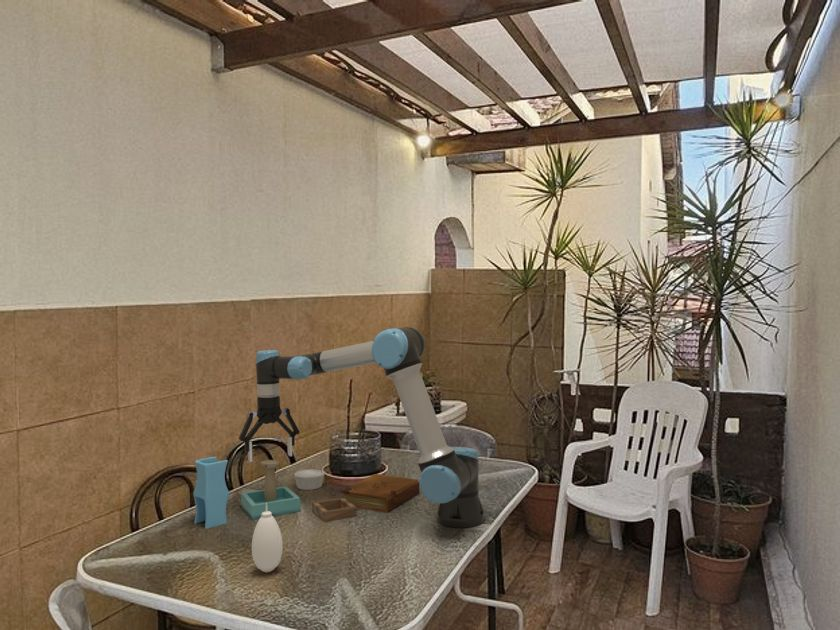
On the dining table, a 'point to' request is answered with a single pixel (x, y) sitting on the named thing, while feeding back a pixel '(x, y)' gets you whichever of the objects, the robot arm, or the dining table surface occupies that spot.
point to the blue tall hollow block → (211, 492)
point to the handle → (270, 479)
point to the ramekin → (309, 479)
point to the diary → (381, 492)
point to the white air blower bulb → (267, 543)
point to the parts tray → (270, 503)
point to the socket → (336, 514)
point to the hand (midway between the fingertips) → (270, 458)
